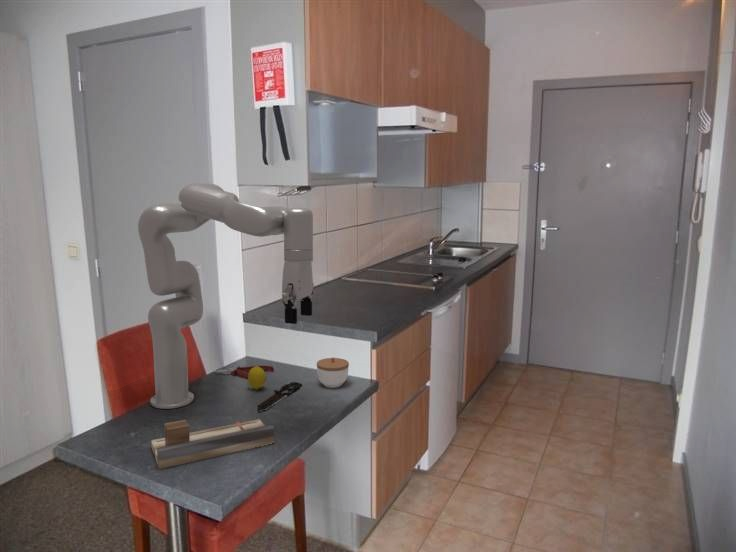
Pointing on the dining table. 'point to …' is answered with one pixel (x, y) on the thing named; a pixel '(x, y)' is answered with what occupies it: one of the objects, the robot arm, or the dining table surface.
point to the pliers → (243, 371)
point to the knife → (277, 395)
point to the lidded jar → (332, 371)
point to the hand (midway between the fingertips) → (298, 319)
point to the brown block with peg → (176, 432)
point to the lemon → (256, 377)
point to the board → (213, 452)
